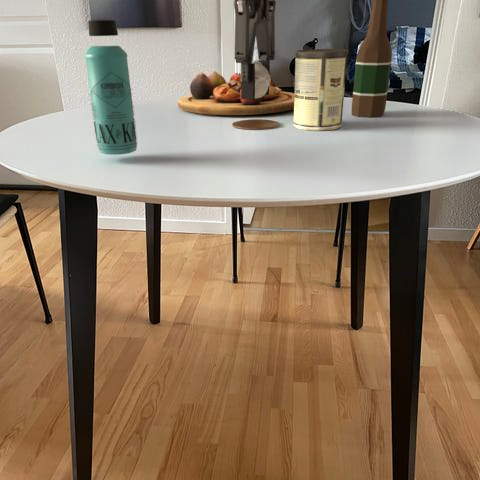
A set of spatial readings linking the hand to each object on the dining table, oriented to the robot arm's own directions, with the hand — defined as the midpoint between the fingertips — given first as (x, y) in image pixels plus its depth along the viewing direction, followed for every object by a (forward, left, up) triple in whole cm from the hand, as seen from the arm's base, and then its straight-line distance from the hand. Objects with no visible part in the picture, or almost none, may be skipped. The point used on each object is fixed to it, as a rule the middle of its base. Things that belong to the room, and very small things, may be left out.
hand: (255, 96), depth 104 cm
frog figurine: (0, 0, 0) cm, 0 cm away
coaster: (0, 0, -6) cm, 6 cm away
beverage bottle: (+8, +36, -6) cm, 37 cm away
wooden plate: (+15, -21, -6) cm, 26 cm away
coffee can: (-12, -4, -6) cm, 14 cm away
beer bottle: (-18, -22, -6) cm, 29 cm away
